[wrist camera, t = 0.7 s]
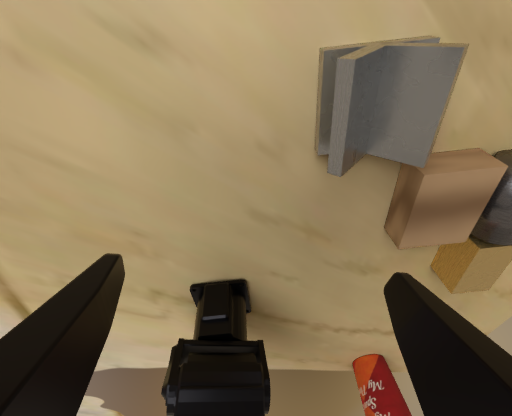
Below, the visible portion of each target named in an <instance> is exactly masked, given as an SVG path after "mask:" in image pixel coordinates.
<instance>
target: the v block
mask: <svg viewBox="0 0 512 416" xmlns="http://www.w3.org/2000/svg"><path fill="white" fill-rule="evenodd" d="M439 40H440V38H439V37H434V36H424V37H415V38H406V39H397V40H389V41H380V42H371V43H362V44H353V45H344V46H335V47H326V48H320V57H319V77H318V96H317V115H316V135H315V151H316V153H317V155H325V154H329V159H328V171H327V173H329V174H333V175H336V176H339V177H341V176H342V175H344V174H345V173H346V172H347V171H348V170H349V169H350V168H351V167H352V166H353V165H354V164H355V163H357V162H358V161H359V160H360V159H361V158H362V157H363V156H364V155H365V154H370V155H373V156H377V157H381V158H385V159H389V160H393V161H397V162H401V163H405V164H409V165H413V166H417V167H421V168H424V167H425V165H426V164H427V163H428V160H429V158H430V155H431V152H432V149H433V146H434V143H435V140H436V138H437V135H438V132H439V129H440V126H441V123H442V120H443V118H444V115H445V112H446V109H447V106H448V103H449V100H450V97H451V95H452V92H453V89H454V86H455V83H456V80H457V77H458V75H459V72H460V69H461V66H462V63H463V60H464V57H465V55H466V52H467V49H468V46H469V44H455V43H439Z"/></svg>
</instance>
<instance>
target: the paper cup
mask: <svg viewBox="0 0 512 416" xmlns="http://www.w3.org/2000/svg"><path fill="white" fill-rule="evenodd" d="M353 368H354V372H355V377H356V380H357V384H358V388H359V392H360V396H361V400H362V404H363V408H364V411H365V415H366V416H412V415H411V413H410V411H409V409H408V407H407V404H406V402H405V400H404V398H403V396H402V394H401V392H400V390H399V388H398V385H397V383H396V381H395V379H394V377H393V375H392V373H391V371H390V369H389V367H388V365H387V363H386V361H385V359H384V357H383V356H381V355H378V354H371V355H365V356H362V357H359V358H357V359H356V360H354V362H353Z"/></svg>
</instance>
